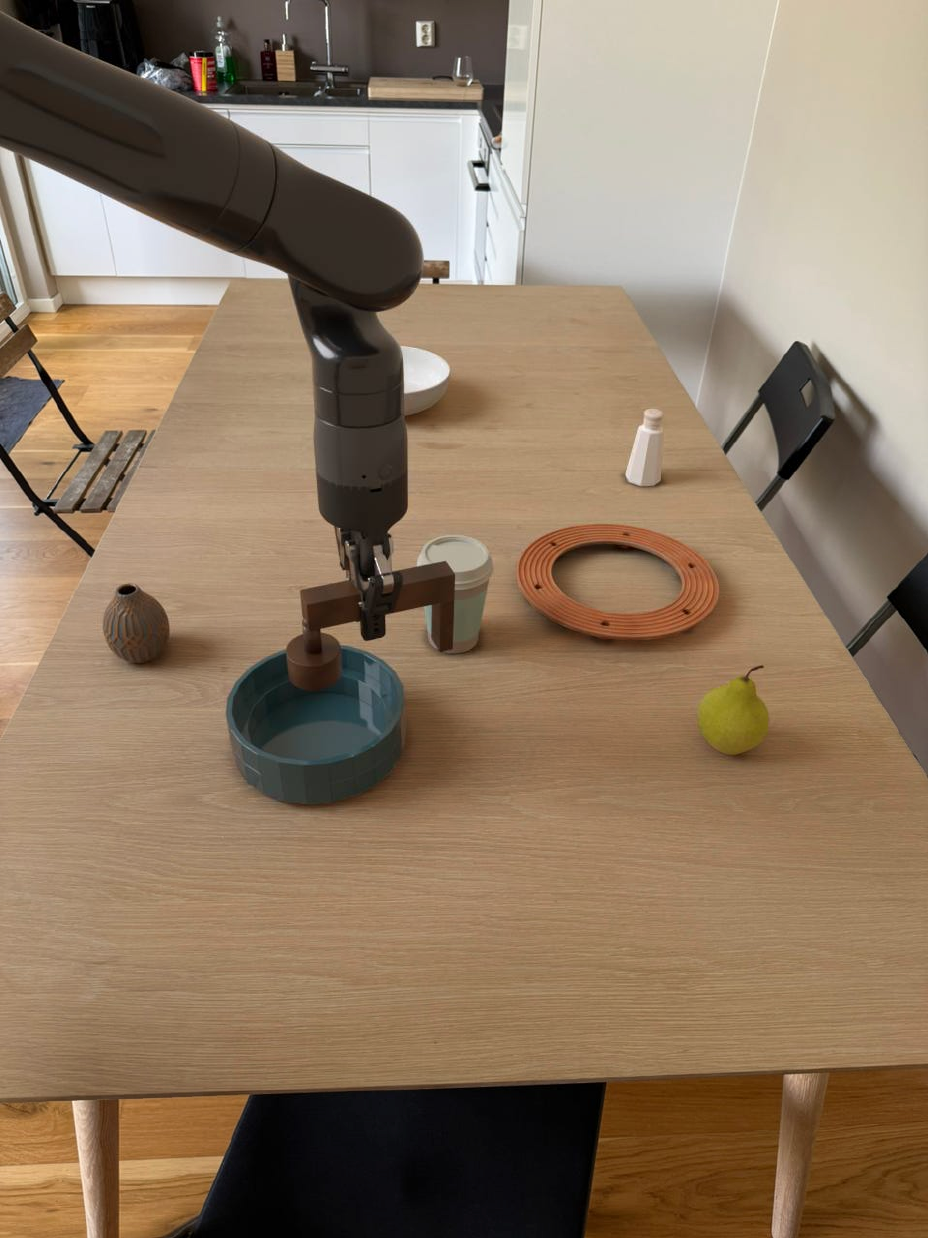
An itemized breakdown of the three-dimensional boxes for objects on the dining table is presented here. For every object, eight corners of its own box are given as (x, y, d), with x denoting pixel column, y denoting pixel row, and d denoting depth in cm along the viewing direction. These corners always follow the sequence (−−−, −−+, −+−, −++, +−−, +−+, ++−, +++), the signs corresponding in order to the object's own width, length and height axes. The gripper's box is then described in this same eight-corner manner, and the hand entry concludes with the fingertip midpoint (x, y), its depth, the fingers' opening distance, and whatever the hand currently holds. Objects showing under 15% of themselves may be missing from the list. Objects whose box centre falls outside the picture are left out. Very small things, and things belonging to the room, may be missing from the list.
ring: (485, 554, 119) (485, 539, 117) (649, 523, 126) (652, 508, 125) (569, 672, 100) (571, 655, 99) (756, 627, 108) (761, 611, 106)
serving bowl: (357, 440, 144) (355, 400, 140) (313, 392, 159) (310, 354, 154) (470, 418, 152) (472, 379, 148) (418, 373, 167) (418, 337, 162)
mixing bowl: (254, 830, 82) (246, 785, 78) (219, 708, 94) (211, 665, 90) (429, 779, 87) (429, 735, 83) (374, 671, 100) (373, 629, 96)
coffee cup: (503, 633, 106) (509, 548, 98) (462, 671, 100) (465, 584, 93) (444, 607, 109) (445, 523, 102) (402, 643, 104) (400, 557, 96)
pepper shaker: (639, 490, 134) (650, 422, 127) (618, 474, 138) (628, 407, 131) (667, 482, 136) (680, 415, 129) (646, 467, 140) (657, 401, 133)
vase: (112, 637, 103) (95, 574, 98) (174, 629, 104) (161, 568, 99) (108, 675, 98) (90, 612, 92) (173, 667, 99) (159, 604, 94)
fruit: (681, 724, 94) (703, 636, 87) (740, 716, 95) (766, 628, 88) (709, 772, 89) (735, 682, 82) (771, 762, 90) (802, 673, 83)
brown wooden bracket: (295, 696, 81) (287, 618, 76) (283, 663, 85) (274, 586, 79) (458, 657, 86) (460, 581, 81) (439, 627, 90) (440, 553, 85)
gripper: (295, 431, 76) (310, 594, 87) (341, 509, 66) (351, 683, 77) (378, 419, 79) (383, 579, 89) (435, 493, 69) (432, 664, 79)
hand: (368, 627), depth 83 cm, fingers closed on brown wooden bracket, 2 cm apart
